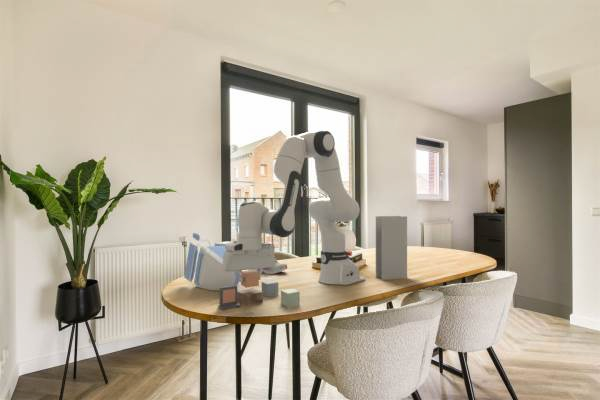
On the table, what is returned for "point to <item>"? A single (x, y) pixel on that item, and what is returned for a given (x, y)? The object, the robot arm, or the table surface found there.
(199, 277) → the retro all-in-one computer
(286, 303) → the sage cube
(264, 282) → the slate cube
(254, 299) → the brown curved block
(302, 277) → the table surface
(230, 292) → the tile
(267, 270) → the running shoe
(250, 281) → the terracotta cube
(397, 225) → the tall grey pillar
